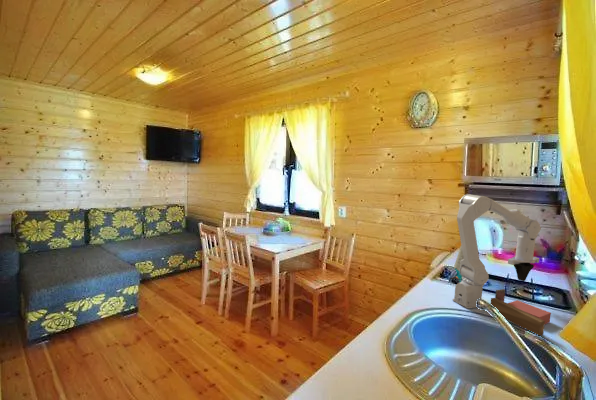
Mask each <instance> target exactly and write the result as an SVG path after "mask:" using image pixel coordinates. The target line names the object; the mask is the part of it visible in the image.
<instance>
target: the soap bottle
mask: <svg viewBox="0 0 596 400" xmlns="http://www.w3.org/2000/svg"><path fill="white" fill-rule="evenodd" d="M463 259H464V258H463V252H462V246H461V245H460V247H459V251H458V254H457V257H456V259H455V262H454V266H453V269H454V270H455V268H457V269H456V270H458V271H459V268H460V261H461V260H463ZM458 271H457V272H458Z"/></svg>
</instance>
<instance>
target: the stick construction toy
mask: <svg viewBox="0 0 596 400" xmlns="http://www.w3.org/2000/svg"><path fill="white" fill-rule="evenodd" d="M456 269H457V268H455V269H454V270H455V272H456V274H454V276H453V277H450V278H449V279H452V280H457V279H458V281H459V283H460V282H462V280H463V279H462V275H461V274H460V272H459V271H458V270H456ZM459 269H460V268H459Z"/></svg>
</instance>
